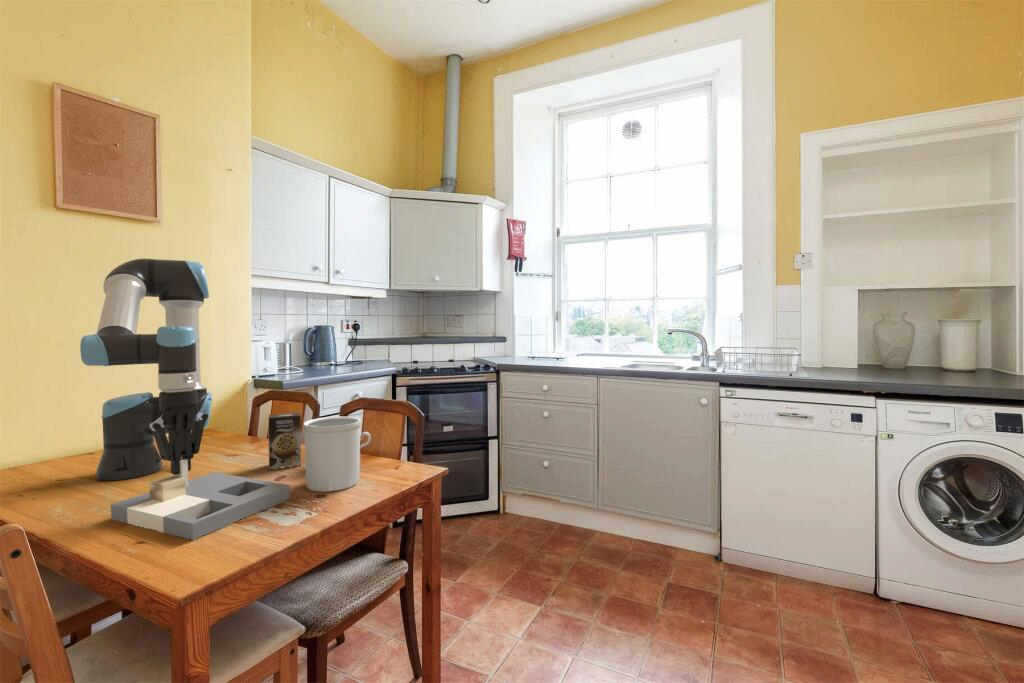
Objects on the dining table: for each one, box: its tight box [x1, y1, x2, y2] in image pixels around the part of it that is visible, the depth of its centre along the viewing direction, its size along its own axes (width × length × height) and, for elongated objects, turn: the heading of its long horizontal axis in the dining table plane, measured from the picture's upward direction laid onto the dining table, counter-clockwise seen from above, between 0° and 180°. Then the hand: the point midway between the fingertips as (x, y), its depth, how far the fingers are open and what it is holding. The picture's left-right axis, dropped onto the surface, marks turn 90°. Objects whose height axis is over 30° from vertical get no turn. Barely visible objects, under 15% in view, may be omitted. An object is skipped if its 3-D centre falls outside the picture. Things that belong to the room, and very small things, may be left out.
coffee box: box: [268, 412, 302, 470], centre depth 143 cm, size 9×6×16 cm
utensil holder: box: [302, 416, 362, 493], centre depth 126 cm, size 15×15×18 cm
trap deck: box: [110, 471, 291, 541], centre depth 109 cm, size 28×24×4 cm
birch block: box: [148, 474, 186, 502], centre depth 108 cm, size 5×5×4 cm
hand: (181, 485), depth 111 cm, fingers closed
